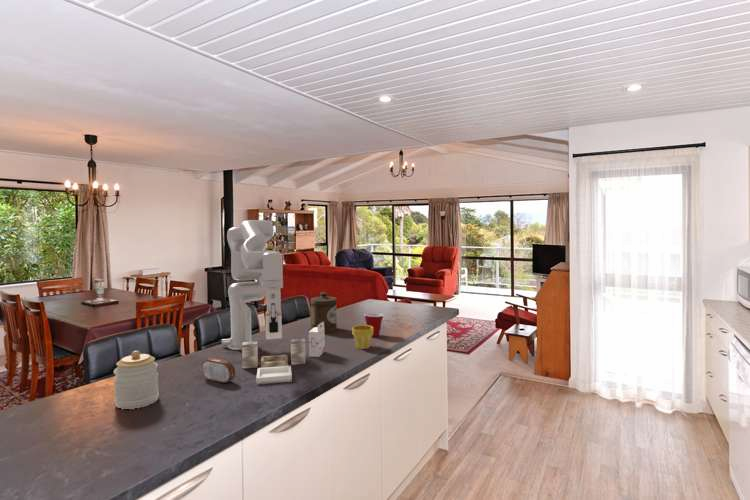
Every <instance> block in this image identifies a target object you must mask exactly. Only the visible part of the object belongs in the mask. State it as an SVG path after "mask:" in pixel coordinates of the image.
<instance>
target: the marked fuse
mask: <svg viewBox="0 0 750 500" xmlns="http://www.w3.org/2000/svg"><path fill="white" fill-rule="evenodd" d="M264 314H265V315H264V316H265V317H264V318H265V340H274V339H275V340H276V339H279V340H280V339H283V328H282V325H283V323H282V321H283V320H282V318H283V317H282V312H281V314H279V313H277V322H278V332H275V333H270V332H269V322H270V314H268V311H267V310H266V311H265V313H264ZM271 314H272V313H271ZM275 314H276V312H275Z"/></svg>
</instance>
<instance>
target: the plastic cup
mask: <svg viewBox="0 0 750 500" xmlns="http://www.w3.org/2000/svg"><path fill="white" fill-rule="evenodd" d="M363 315H364V321H365V323H366V324H365V325H369V326H372V327H373V335H372V338H378V337H379V336H380V332H381V326H382V321H383V318H384V316H385V314H382V313H377V312H367V313H364V314H363Z"/></svg>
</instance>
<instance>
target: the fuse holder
mask: <svg viewBox="0 0 750 500" xmlns="http://www.w3.org/2000/svg"><path fill="white" fill-rule="evenodd" d="M258 352H259V351H258V341H253V342H243V343H242V350H241V355H242V357H241V359H242V361H241V362H242V369H252V368H253V369H254V368H259V367H258V366H259V364H258V363H259V361H258V360H259V357H258V354H259V353H258ZM288 357H289V356H288V354H281V355H280V354H278V355H277V354H276V355H263V356H261V359H260V368H267V367H280V366H289V359H288ZM306 362H307V361H306V338H305V337H304V338H291V339H290V363H291V364H290V366H292V365H304V364H306Z"/></svg>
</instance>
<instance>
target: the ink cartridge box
mask: <svg viewBox="0 0 750 500" xmlns="http://www.w3.org/2000/svg"><path fill="white" fill-rule="evenodd" d="M321 325H322V327H320V326H321ZM325 349H326V347H325V333H324V322H322V323H320V324H319V325H318V327H315V328H313V329H312V330H311V329H310V330H309V331H308V353H309V355H308V356H309V357H310V358H320V357H321V356H322V355H323V354H324V353H325Z"/></svg>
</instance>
